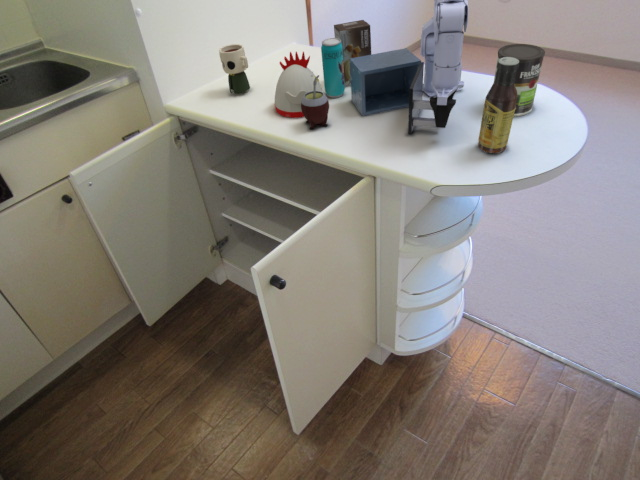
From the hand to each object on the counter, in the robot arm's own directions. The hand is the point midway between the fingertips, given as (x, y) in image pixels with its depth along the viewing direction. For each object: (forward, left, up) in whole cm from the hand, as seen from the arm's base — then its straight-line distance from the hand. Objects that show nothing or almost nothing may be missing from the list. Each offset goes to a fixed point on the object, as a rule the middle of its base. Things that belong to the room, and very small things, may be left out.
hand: (442, 120), depth 109 cm
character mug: (+44, -47, -4) cm, 64 cm away
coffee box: (+10, -39, -4) cm, 41 cm away
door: (0, -7, -3) cm, 8 cm away
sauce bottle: (-7, +11, -4) cm, 13 cm away
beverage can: (+18, -32, -4) cm, 37 cm away
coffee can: (-21, -5, -4) cm, 22 cm away
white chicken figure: (+29, -29, -4) cm, 41 cm away
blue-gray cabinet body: (+7, -22, -3) cm, 23 cm away
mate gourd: (+27, -16, -4) cm, 31 cm away
